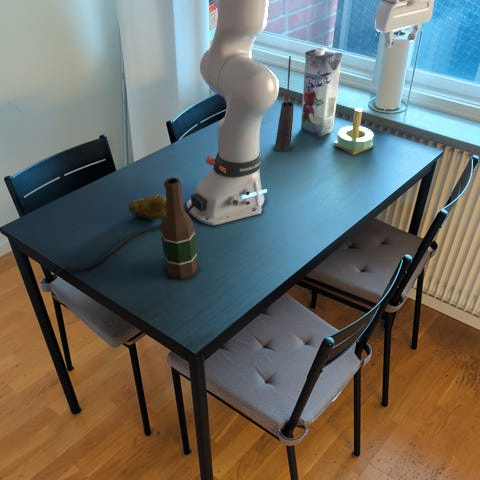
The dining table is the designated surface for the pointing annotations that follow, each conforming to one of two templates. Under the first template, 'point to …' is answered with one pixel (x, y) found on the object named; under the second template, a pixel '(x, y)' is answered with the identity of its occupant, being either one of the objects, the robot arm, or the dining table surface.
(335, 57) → the juice carton
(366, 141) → the ring
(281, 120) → the butter churn
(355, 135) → the stand
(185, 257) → the beer bottle
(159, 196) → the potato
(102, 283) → the dining table surface
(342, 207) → the dining table surface
